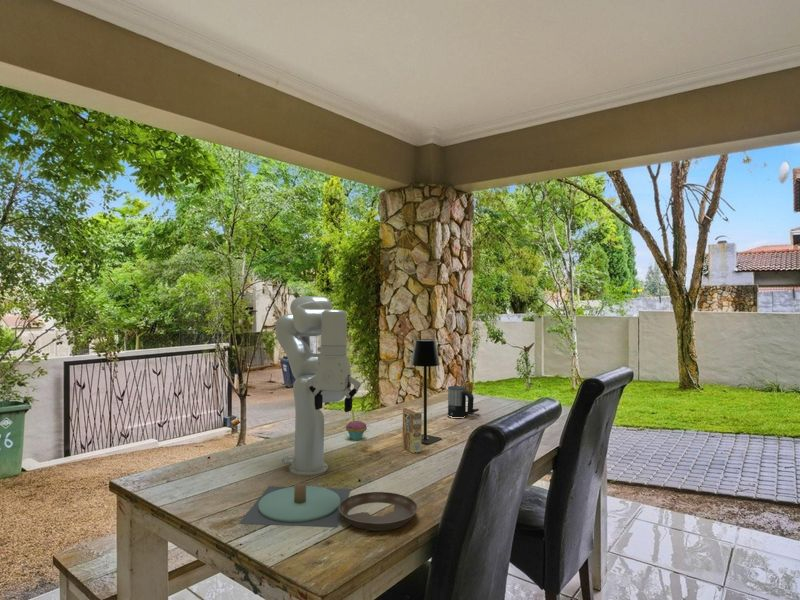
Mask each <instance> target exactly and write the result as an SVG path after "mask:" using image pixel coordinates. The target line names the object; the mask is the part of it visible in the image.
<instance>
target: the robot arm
mask: <svg viewBox="0 0 800 600" xmlns="http://www.w3.org/2000/svg"><path fill="white" fill-rule="evenodd" d="M347 317H348V315H347V312H346V311H345V310H343V309H336V308H335V309H333V304H332V302H331V300H330V299H329V298H328V297H326V296H315V295H313V296H309V295H304V296H303V295H302V296H301V295H300V296H297V297H296V298H294V299H293V300H292V301H291V303H290V313H287V314H283V315H281V316H279V317H278V318H277V319H276V321H275V334H276V335H275V336H276V339H277V341H278V344H279V345H280V348H281V349H282V350H283V351H284V353H285V355H286V358H287V360H288V365H289V367H290V371H291V373H292V376H293V377H294V379H295V380H294V382H293V385H292V386H293V387H292V390H293V399H294V408H295V409H294V411H295V415H294V416H295V417H294V418H295V420H294V421H295V423H294V424H295V426H294V428H295V429H294V433H295V434H294V454H293V455H291V456H288V455H283V456H282V457H281V462H282V463H283V464H285V465H287V464H290V466H289V472H291V474H293V475H297V476H316V475H317V476H318V475H321V474H323V473H326V471H328V470H329V465H328V463H327V462H324V451H325V450H324V447H325V445H324V443H325V416H324V413H323V411H322V410H321V409H322V408H323V404H325V403H337V402H340V401H342V400H343V399H344V412H345V413H349V412H352V410H353V397H354V396H355V395H356V394H357V393H358V392H359V389H360V387H361V385H362V383H361V382H360V380H357V379H355V378H354V377H352V372H351V371H352V370H351V363H350V358H349V355H347V349H348V347H347V344H348V343H347V335H348V334H347V333H348V332H347V331H348V330H347V329H348V327H347V326H348V323H347V322H348V319H347ZM318 336H320V346H318V347H317V350H316V351H317V353H314V352H312V351H311V348H310V346H309V345H308V343H306V341H304V340H303V339H302V338H301V337H318ZM352 385H353V387H352V389H351V386H352Z"/></svg>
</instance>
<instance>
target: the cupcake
mask: <svg viewBox="0 0 800 600" xmlns="http://www.w3.org/2000/svg"><path fill="white" fill-rule="evenodd" d="M351 415H352V421H350V422H348V423H347V424H346V426H345V429H346V431H347V432H348V435H349V439H350V440H352V441H359V440H362V438H363V435H364V433H365V432H366V431H367V429H368V426H367V424H366V423H365V422H363V421H358V420H355V413H354V410H353V409H351Z"/></svg>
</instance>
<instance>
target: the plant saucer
mask: <svg viewBox="0 0 800 600" xmlns="http://www.w3.org/2000/svg"><path fill="white" fill-rule="evenodd" d="M373 503H374V504H377V503H379V504H390V505H394V507H393V511H390V512H388V513H384V514H383V515H371V514H370V513H369V512H365V511H363V512H362V511H361V512H357V513H352V514H348V513H349V512H350V511H351V510H352V509H355V508H357V507H359V506H361V505H366V504H373ZM417 510H418V504H417V503H416V501H414V499H412V498H410V497H408V496H406V495H403V494H399V493H396V492H394V493H393V492H387V491H370V492H362V493H357V494H354V495H351V496H350V495H349V497H348V498H346V499H345V500H343V501H342V502H341V503H340V505H339V511H340V513H341V515H342V516H341V517H342V518H343V519H344V520H345V521H346V522H347V523H348V524H349V525H352V526H353V527H355V528H359V529H362V530H366V531H367V530H368V531H377V532H378V531H380V532H381V531H388V530H389V531H390V530H394V529H398V528H400V527H403V526H404V525H405V524H407V523H408V522H409V521H410V520H411V519H412V518H413V517H414V516H415V514H416V513H417Z"/></svg>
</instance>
